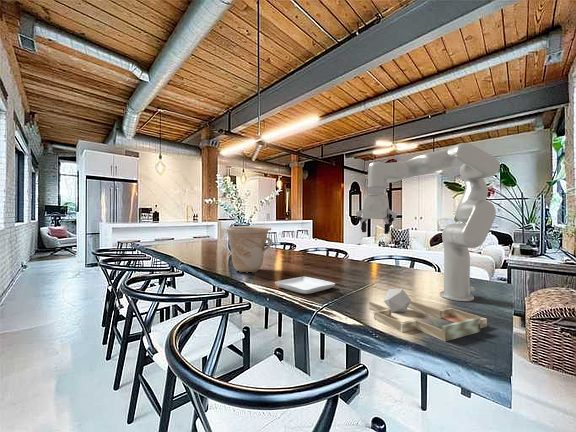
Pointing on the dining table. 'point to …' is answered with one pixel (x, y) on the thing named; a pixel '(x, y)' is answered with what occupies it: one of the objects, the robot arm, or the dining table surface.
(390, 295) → the die
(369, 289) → the dining table surface
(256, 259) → the vessel
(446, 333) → the channel
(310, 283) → the salad plate
